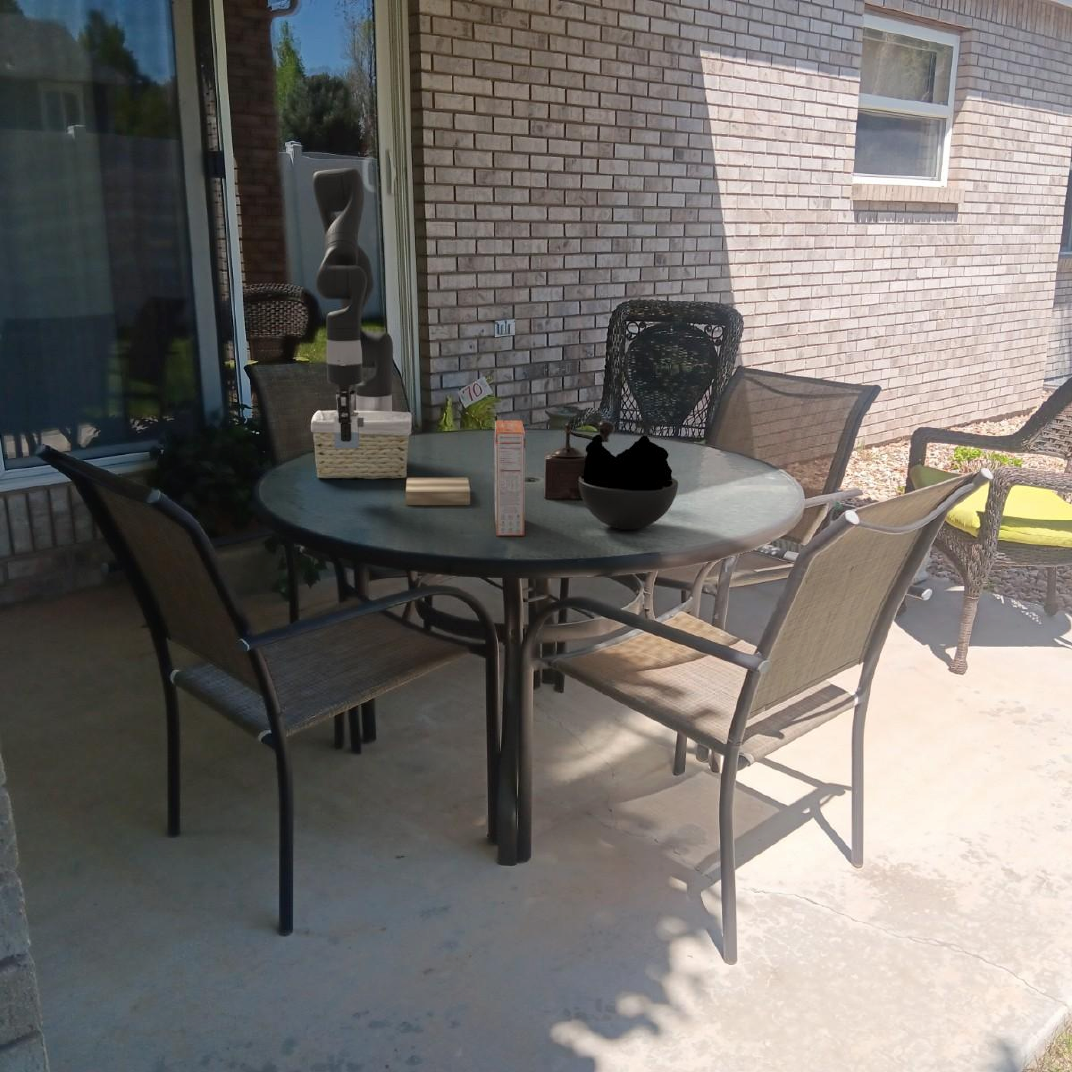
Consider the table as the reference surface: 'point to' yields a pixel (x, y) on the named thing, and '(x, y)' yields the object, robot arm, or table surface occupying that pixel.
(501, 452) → the cracker box
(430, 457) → the table surface
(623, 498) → the bowl of black rocks
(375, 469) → the storage basket
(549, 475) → the wooden coffee grinder
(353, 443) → the gray block
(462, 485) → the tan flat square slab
